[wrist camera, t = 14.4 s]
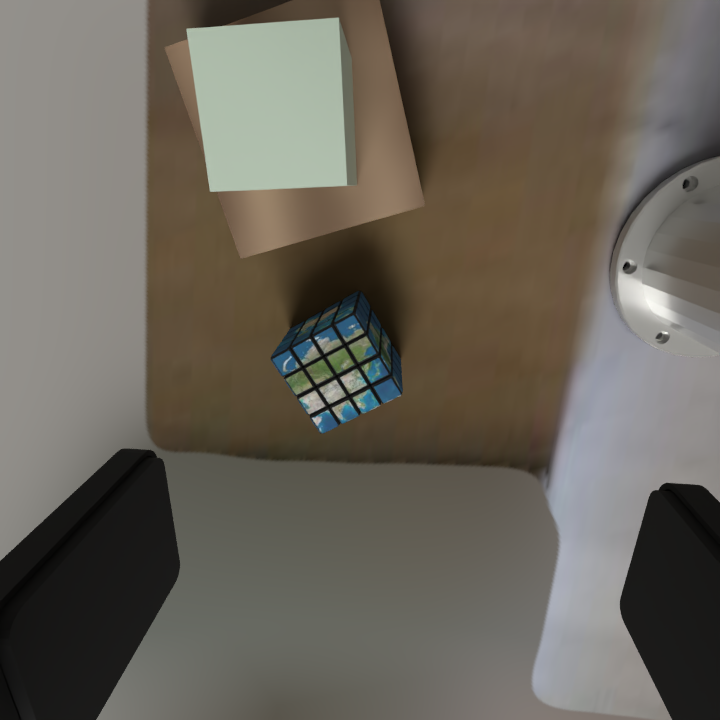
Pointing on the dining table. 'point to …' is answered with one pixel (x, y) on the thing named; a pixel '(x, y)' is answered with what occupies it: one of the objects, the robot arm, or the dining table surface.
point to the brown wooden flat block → (372, 140)
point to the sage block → (275, 104)
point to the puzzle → (340, 363)
